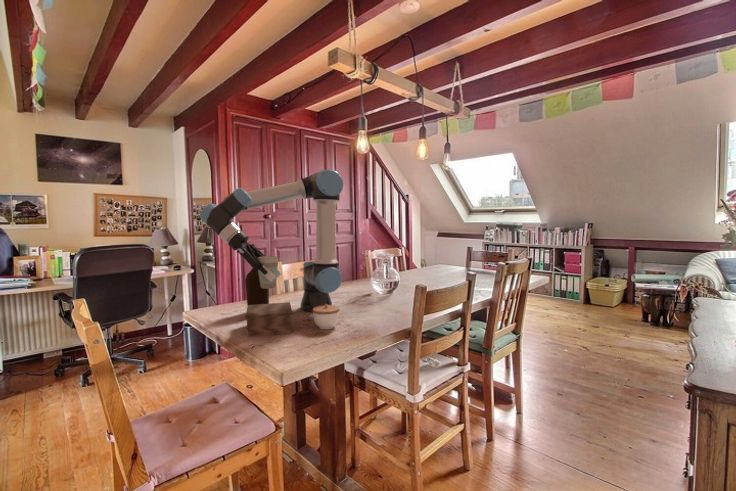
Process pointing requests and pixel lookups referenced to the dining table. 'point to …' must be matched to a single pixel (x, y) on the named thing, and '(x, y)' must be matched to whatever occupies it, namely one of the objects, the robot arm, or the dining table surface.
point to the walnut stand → (268, 319)
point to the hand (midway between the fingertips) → (276, 277)
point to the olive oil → (255, 289)
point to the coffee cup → (272, 265)
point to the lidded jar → (326, 316)
